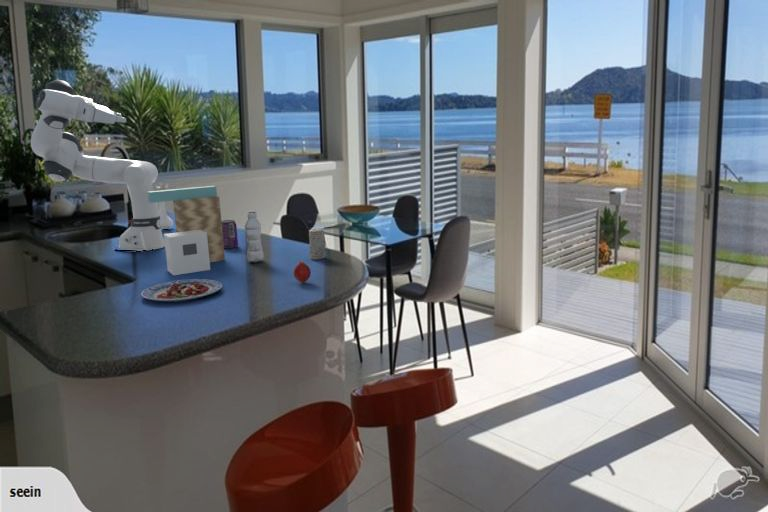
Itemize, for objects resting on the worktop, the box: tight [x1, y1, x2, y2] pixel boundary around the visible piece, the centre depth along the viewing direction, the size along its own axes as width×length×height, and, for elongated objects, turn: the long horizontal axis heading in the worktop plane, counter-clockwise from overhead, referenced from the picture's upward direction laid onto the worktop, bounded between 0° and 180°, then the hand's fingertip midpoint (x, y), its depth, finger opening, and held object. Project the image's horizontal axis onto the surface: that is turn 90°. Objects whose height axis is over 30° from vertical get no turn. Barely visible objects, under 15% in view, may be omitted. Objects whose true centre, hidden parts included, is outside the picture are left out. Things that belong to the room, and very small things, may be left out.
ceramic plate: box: [141, 278, 223, 303], centre depth 220 cm, size 26×26×3 cm
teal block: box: [148, 185, 218, 203], centre depth 263 cm, size 26×4×4 cm, turn 121°
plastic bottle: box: [244, 211, 265, 263], centre depth 263 cm, size 6×7×20 cm
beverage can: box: [221, 219, 239, 249], centre depth 297 cm, size 7×7×12 cm
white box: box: [163, 230, 211, 276], centre depth 254 cm, size 14×9×14 cm, turn 121°
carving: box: [308, 228, 326, 261], centre depth 266 cm, size 6×8×12 cm
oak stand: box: [172, 195, 226, 263], centre depth 269 cm, size 16×10×26 cm, turn 121°
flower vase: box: [152, 181, 178, 230], centre depth 351 cm, size 13×18×25 cm
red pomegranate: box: [293, 260, 311, 284], centre depth 228 cm, size 6×6×8 cm
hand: (123, 118), depth 258 cm, fingers open, 8 cm apart
